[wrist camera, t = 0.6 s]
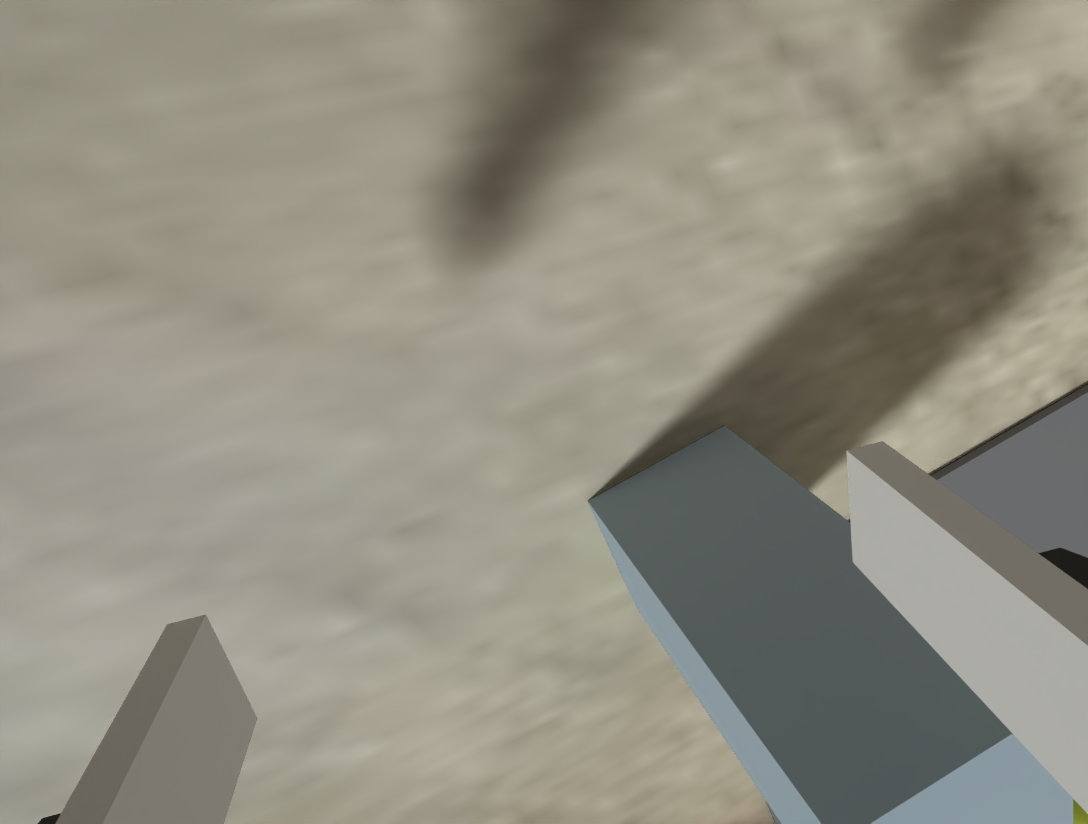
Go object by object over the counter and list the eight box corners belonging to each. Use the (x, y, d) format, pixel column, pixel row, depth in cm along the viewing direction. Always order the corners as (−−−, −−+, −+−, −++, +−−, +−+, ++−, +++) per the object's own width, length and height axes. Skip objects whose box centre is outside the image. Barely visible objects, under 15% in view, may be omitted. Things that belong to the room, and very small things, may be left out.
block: (587, 501, 27) (836, 844, 15) (724, 425, 27) (1072, 695, 15) (636, 606, 30) (876, 966, 18) (758, 536, 30) (1073, 836, 18)
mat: (690, 615, 31) (695, 621, 31) (1098, 377, 33) (1107, 380, 33) (783, 844, 41) (788, 851, 40) (1093, 649, 43) (1100, 654, 43)
